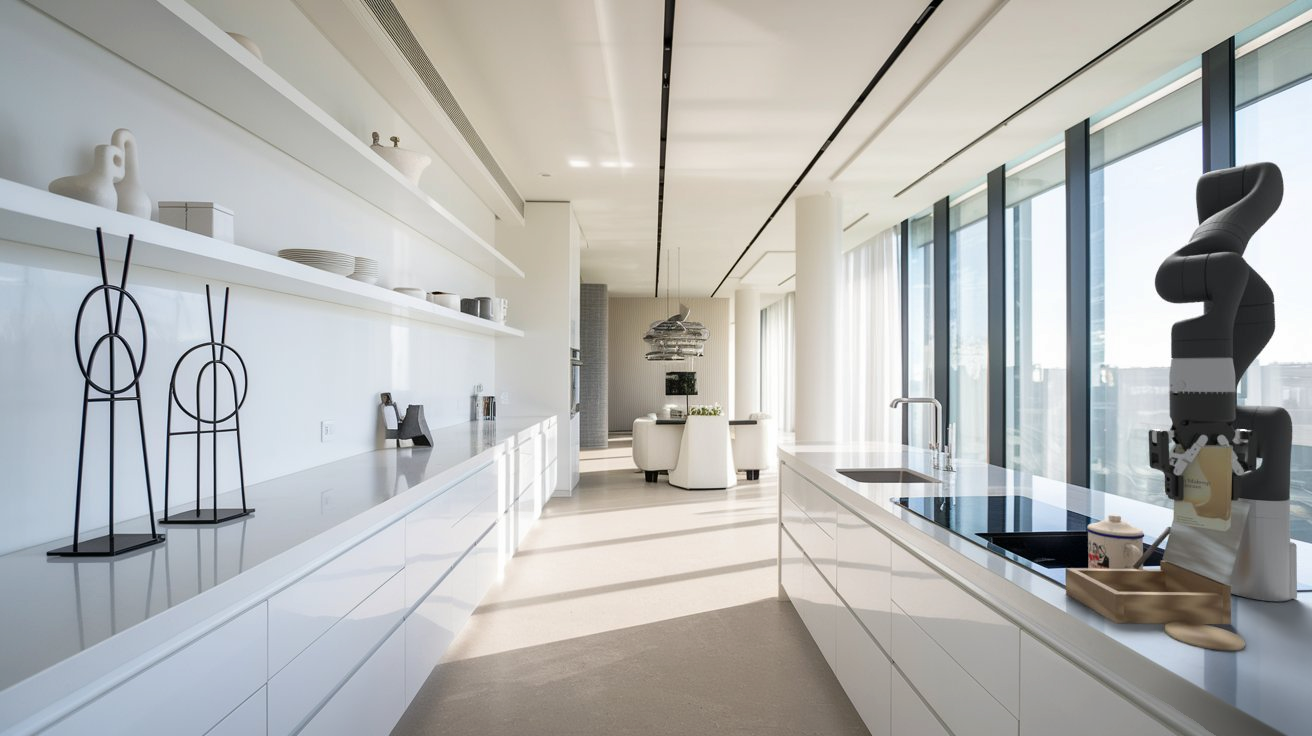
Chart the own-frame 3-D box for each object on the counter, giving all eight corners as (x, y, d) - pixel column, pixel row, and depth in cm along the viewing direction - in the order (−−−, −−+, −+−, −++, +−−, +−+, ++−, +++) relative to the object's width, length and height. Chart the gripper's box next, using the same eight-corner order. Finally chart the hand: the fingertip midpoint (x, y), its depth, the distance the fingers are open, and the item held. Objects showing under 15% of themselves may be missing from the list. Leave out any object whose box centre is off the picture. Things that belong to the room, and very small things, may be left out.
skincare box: (1172, 524, 97) (1172, 443, 97) (1178, 520, 100) (1177, 440, 100) (1229, 532, 93) (1228, 446, 93) (1233, 527, 95) (1233, 444, 95)
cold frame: (1182, 593, 115) (1181, 486, 115) (1252, 624, 101) (1251, 503, 101) (1063, 591, 116) (1062, 486, 116) (1115, 622, 102) (1114, 502, 102)
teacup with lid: (1077, 567, 130) (1077, 509, 130) (1126, 569, 129) (1125, 510, 129) (1112, 587, 118) (1111, 523, 119) (1166, 589, 117) (1165, 524, 117)
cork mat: (1210, 626, 101) (1210, 622, 101) (1262, 651, 92) (1261, 646, 92) (1150, 625, 101) (1150, 621, 101) (1195, 650, 92) (1195, 645, 92)
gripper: (1230, 388, 100) (1231, 495, 100) (1134, 388, 101) (1135, 494, 100) (1274, 389, 92) (1275, 505, 92) (1170, 389, 93) (1171, 504, 93)
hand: (1202, 499), depth 96 cm, fingers closed on skincare box, 7 cm apart
